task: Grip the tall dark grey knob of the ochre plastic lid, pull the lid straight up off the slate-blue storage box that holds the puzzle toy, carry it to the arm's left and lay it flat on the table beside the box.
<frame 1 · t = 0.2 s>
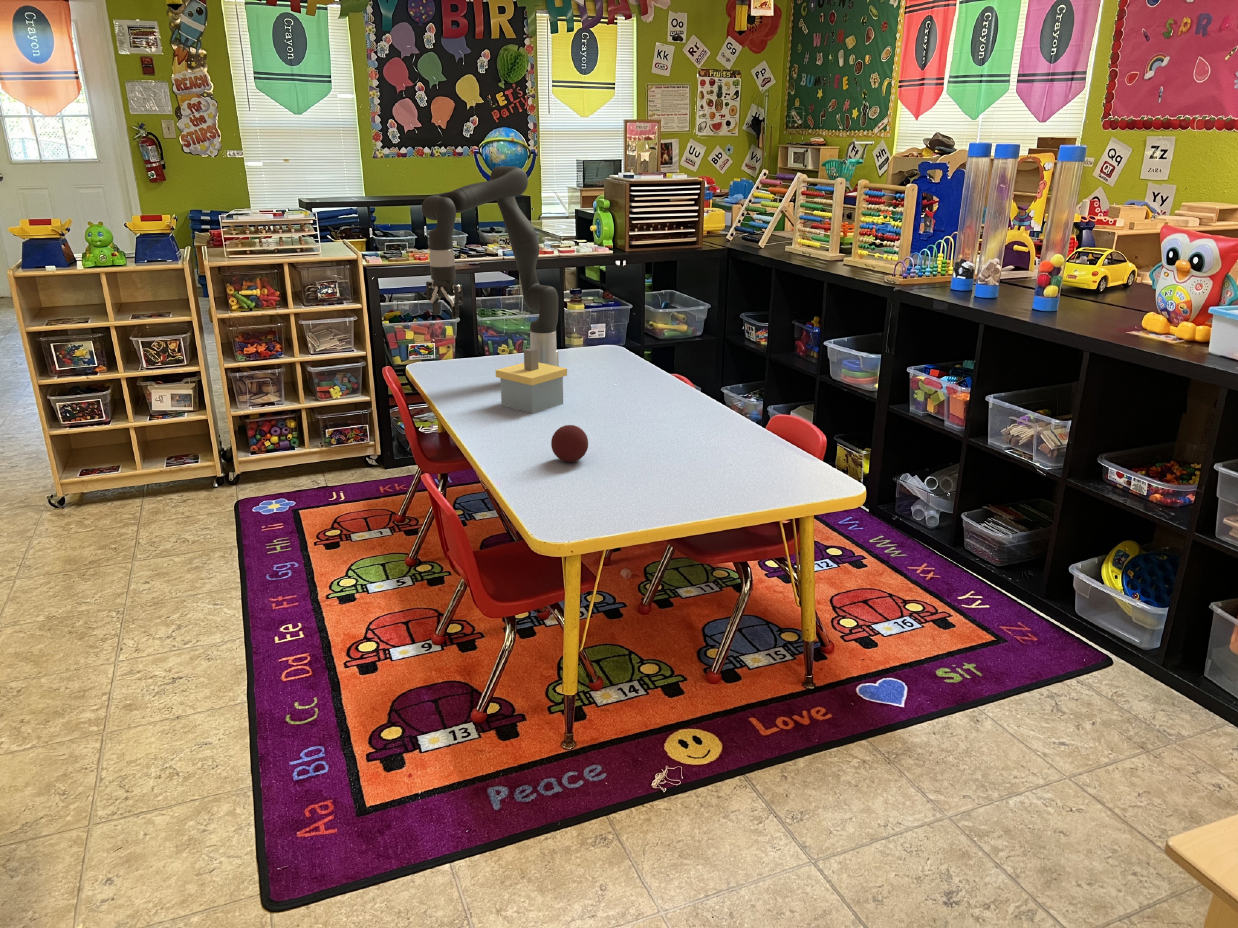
hand: (446, 316, 282), 29 cm above the table, tool pointing down, fingers open, 8 cm apart
decorative ball: (570, 461, 243), on the table
box: (532, 404, 293), on the table
lid: (531, 376, 290), point 9 cm above the table, touching box
puzzle toy: (532, 404, 293), resting in box
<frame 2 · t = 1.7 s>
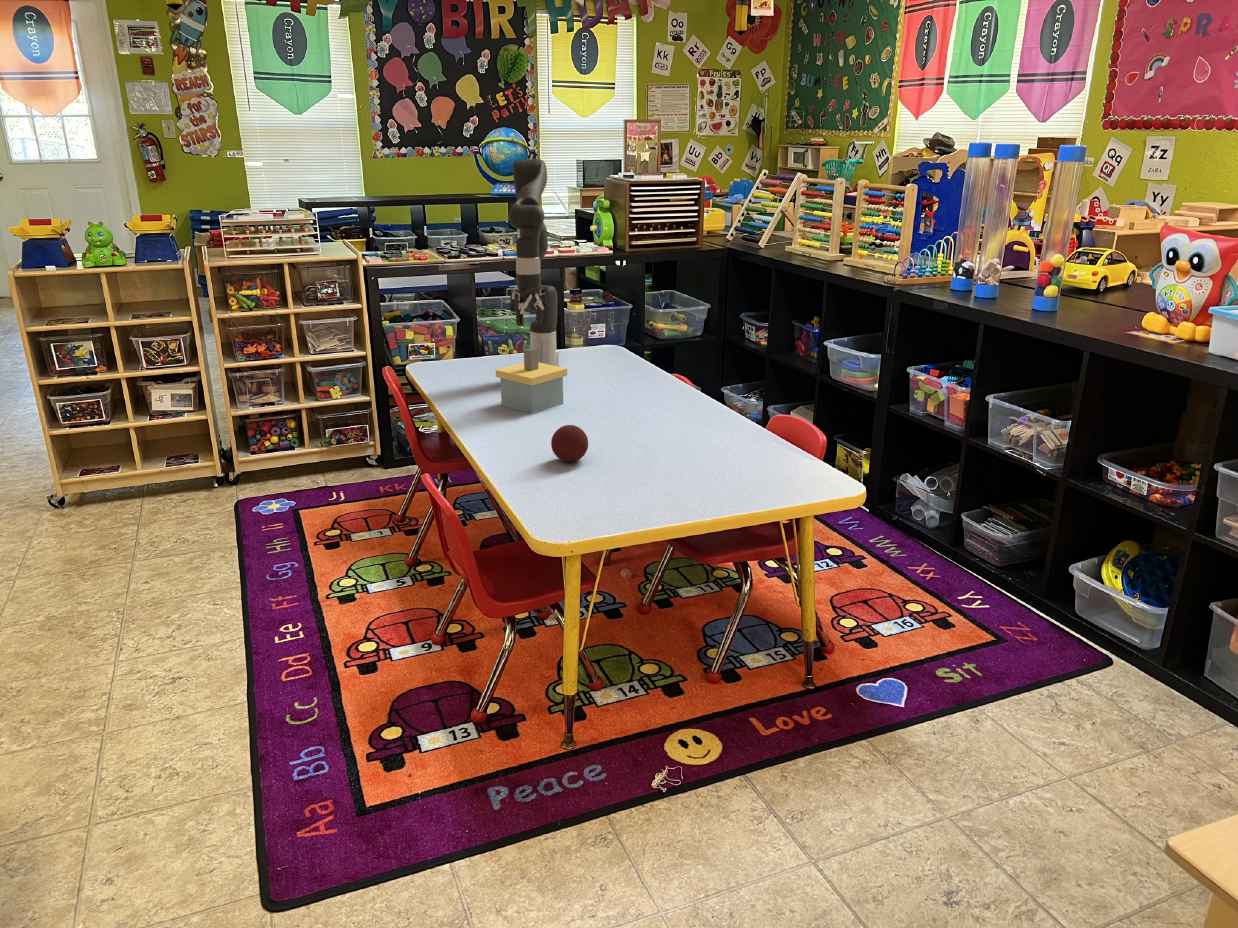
hand: (529, 323, 284), 27 cm above the table, tool pointing down, fingers open, 8 cm apart
nothing on the table moved.
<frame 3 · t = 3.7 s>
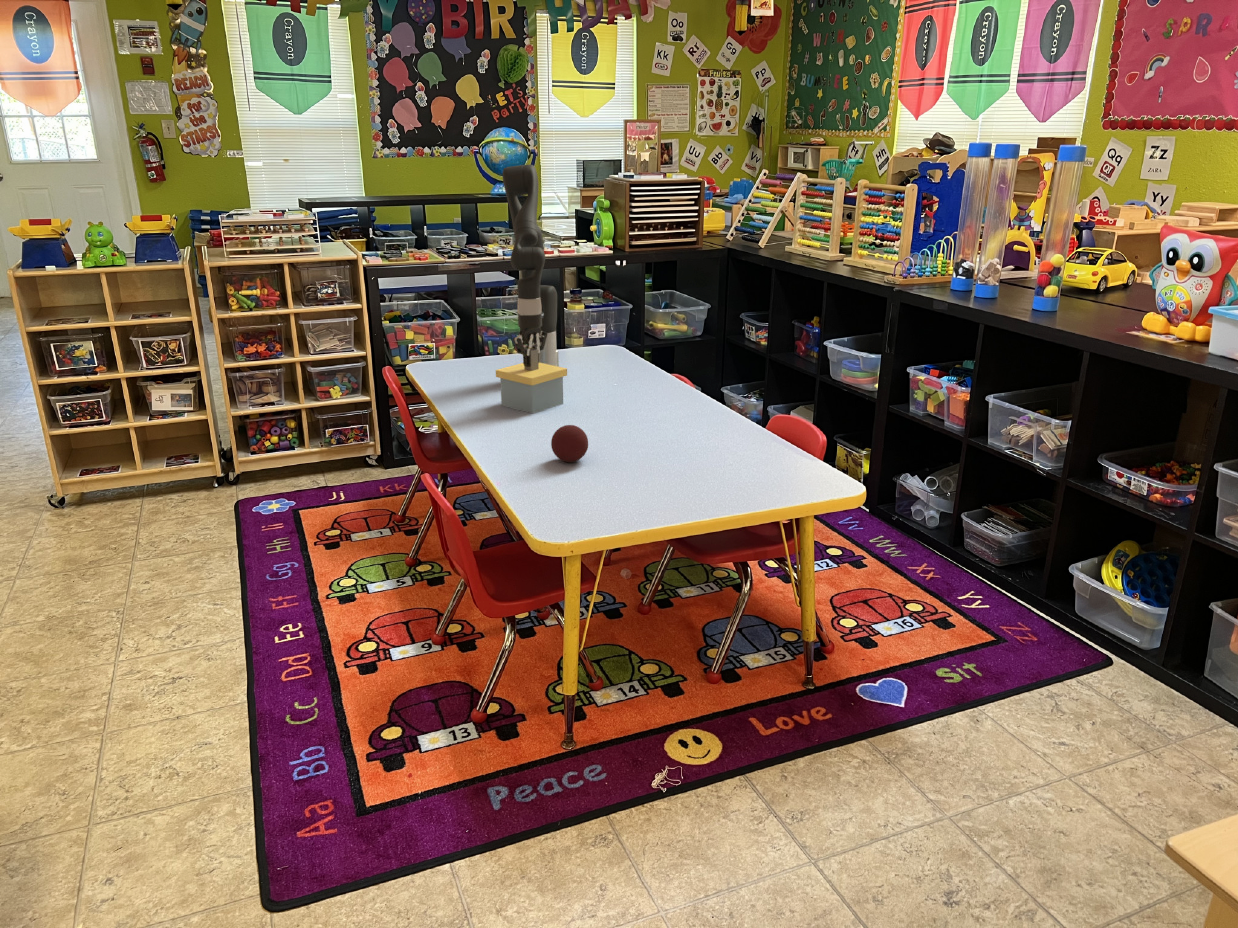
hand: (531, 365, 288), 13 cm above the table, tool pointing down, fingers closed on lid, 3 cm apart
lid: (531, 376, 290), point 10 cm above the table, touching gripper
everything else where it was.
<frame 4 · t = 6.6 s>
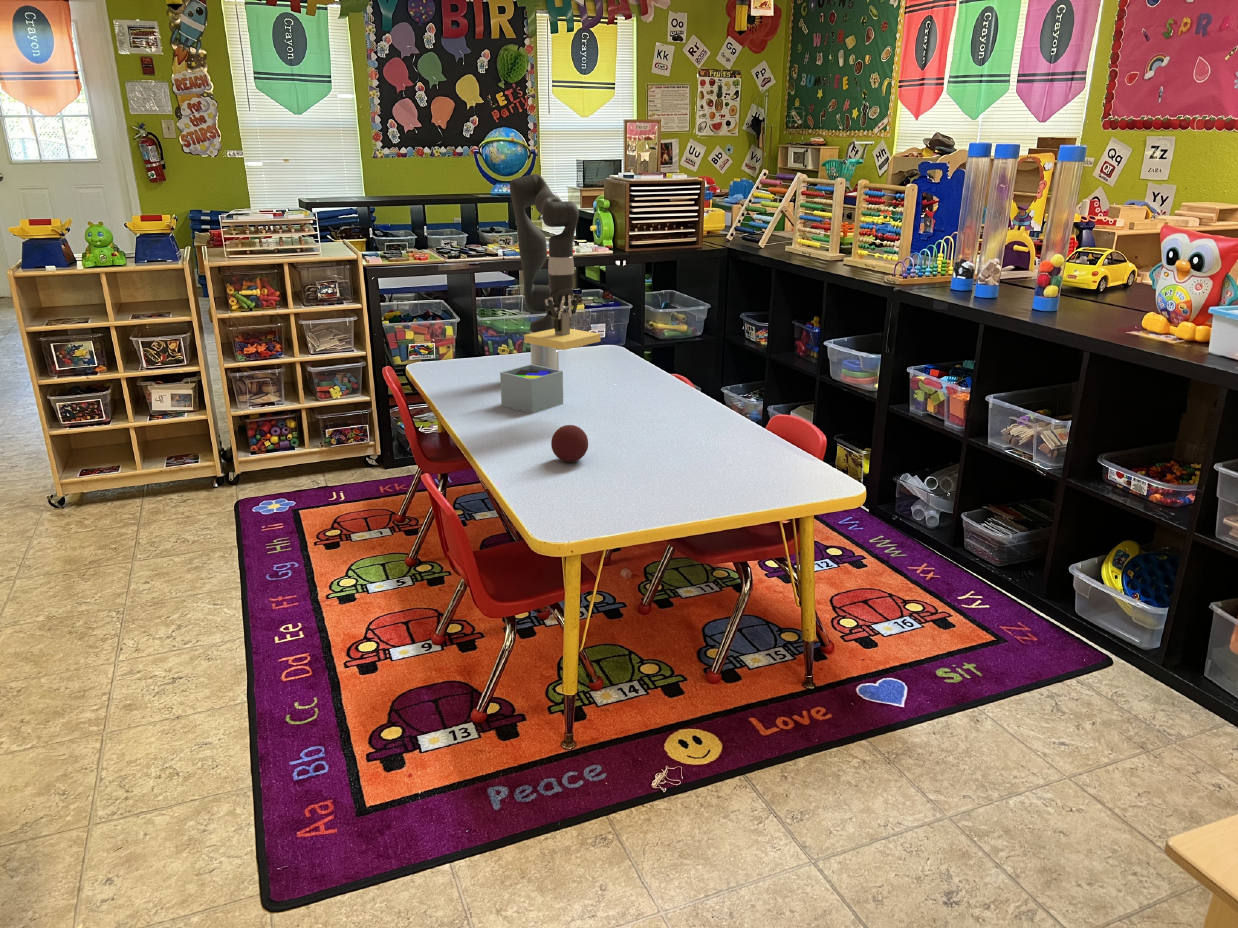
hand: (562, 330, 270), 28 cm above the table, tool pointing down, fingers closed on lid, 3 cm apart
lid: (562, 342, 271), point 24 cm above the table, touching gripper
everything else where it was.
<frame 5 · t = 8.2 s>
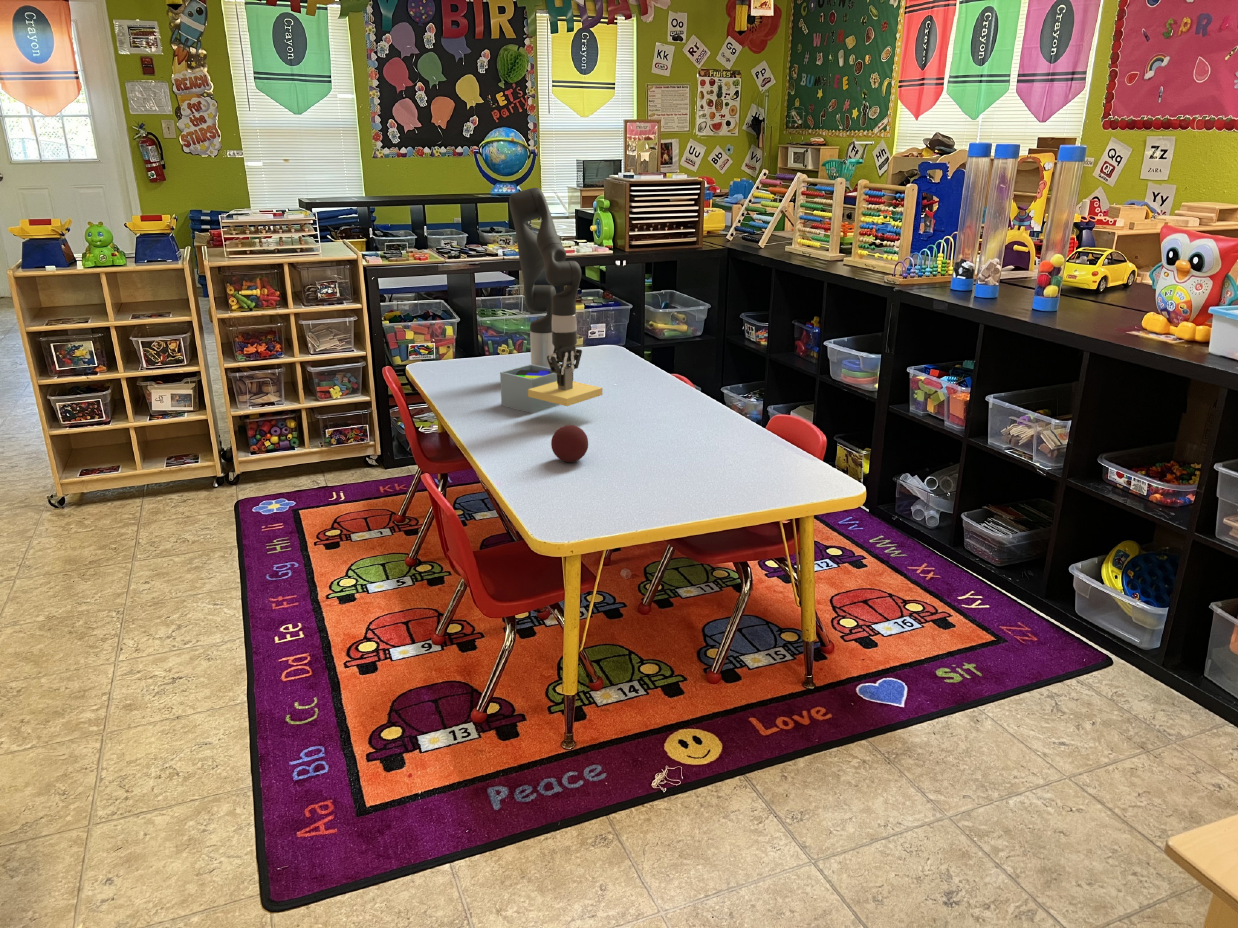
hand: (565, 384, 275), 11 cm above the table, tool pointing down, fingers closed on lid, 3 cm apart
lid: (565, 395, 277), point 7 cm above the table, touching gripper
everything else where it was.
when the fingers open (5 cm above the table, at t = 9.6 s): lid drops 1 cm, on the table.
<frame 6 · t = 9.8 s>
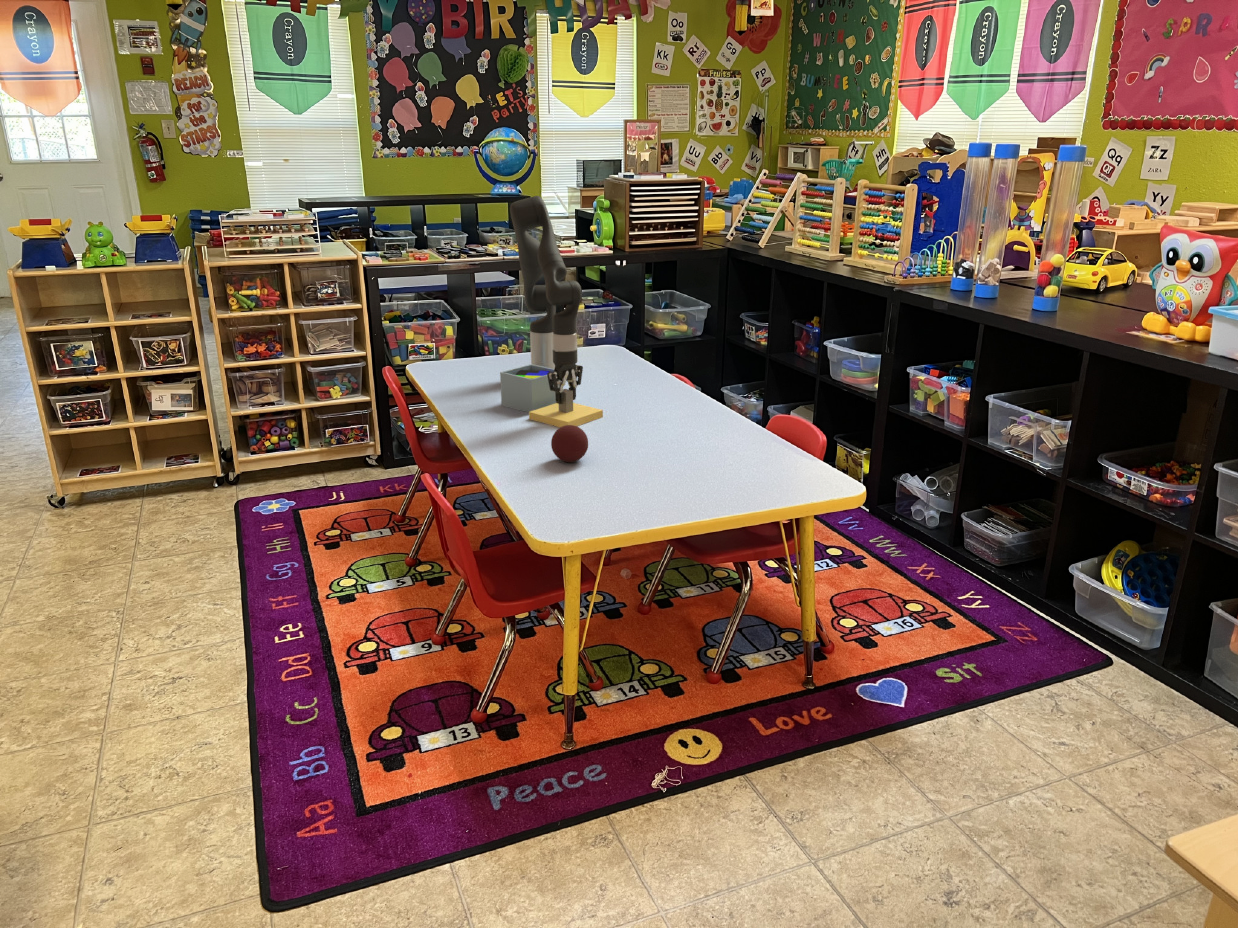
hand: (565, 401, 277), 5 cm above the table, tool pointing down, fingers open, 5 cm apart
lid: (566, 418, 279), on the table
everything else where it was.
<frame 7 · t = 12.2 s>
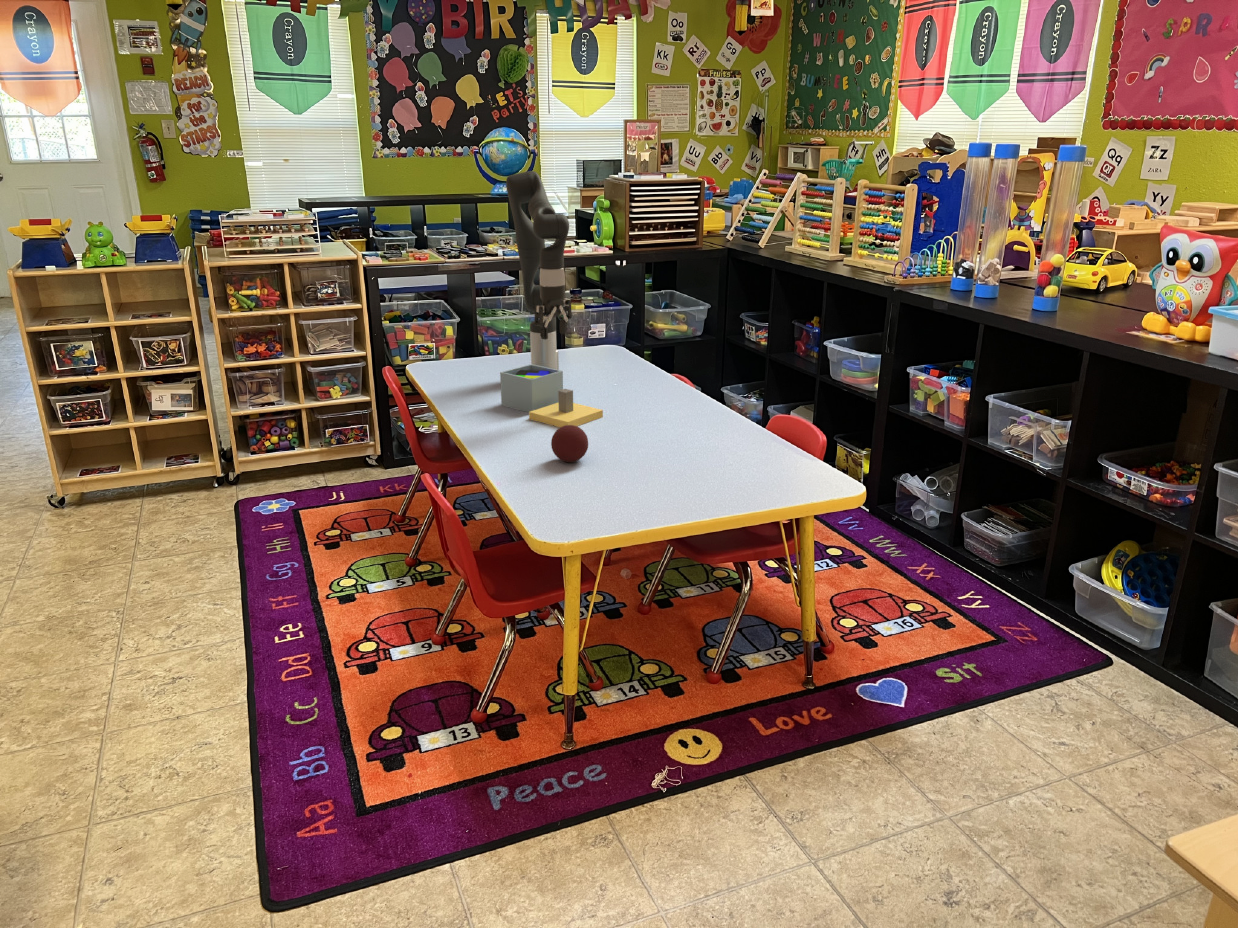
hand: (553, 336, 274), 25 cm above the table, tool pointing down, fingers open, 8 cm apart
nothing on the table moved.
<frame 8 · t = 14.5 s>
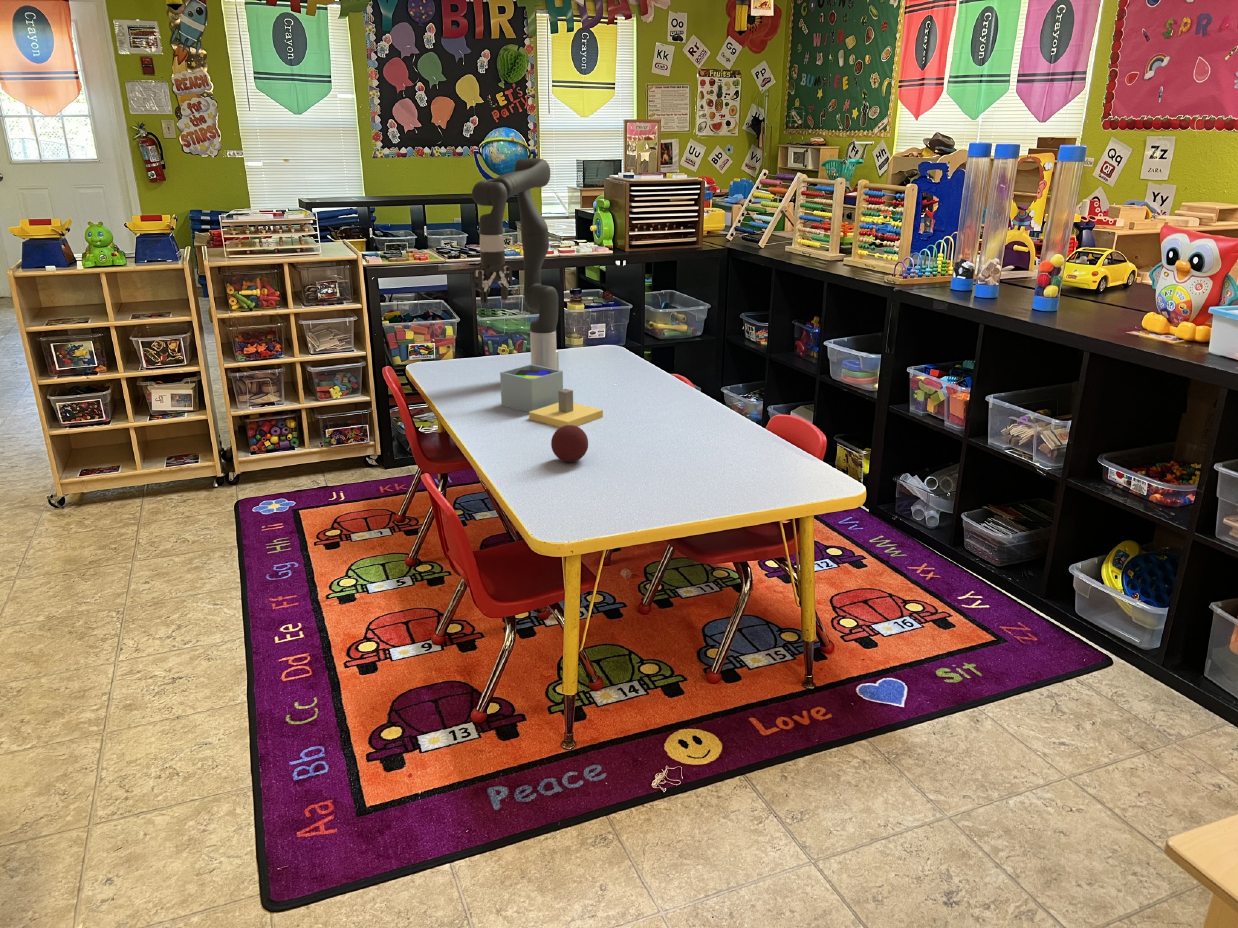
hand: (494, 301, 284), 33 cm above the table, tool pointing down, fingers open, 8 cm apart
nothing on the table moved.
at the end: lid inside the target area (0.1 cm from its centre), on the table; lid tilted 0°; the gripper is holding nothing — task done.
